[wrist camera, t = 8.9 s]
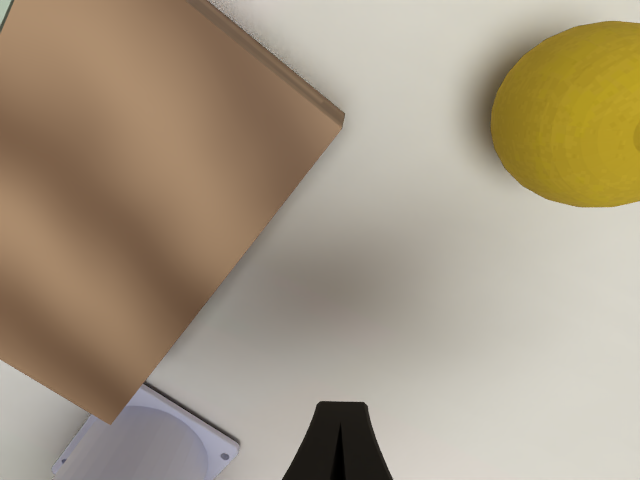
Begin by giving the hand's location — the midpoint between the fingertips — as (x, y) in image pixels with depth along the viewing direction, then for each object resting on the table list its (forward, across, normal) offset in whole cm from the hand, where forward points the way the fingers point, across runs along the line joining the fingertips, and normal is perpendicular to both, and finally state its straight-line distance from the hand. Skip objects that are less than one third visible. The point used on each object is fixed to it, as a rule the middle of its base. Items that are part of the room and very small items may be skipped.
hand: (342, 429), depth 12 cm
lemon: (+10, -8, -8) cm, 15 cm away
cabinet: (+9, +9, -5) cm, 14 cm away
